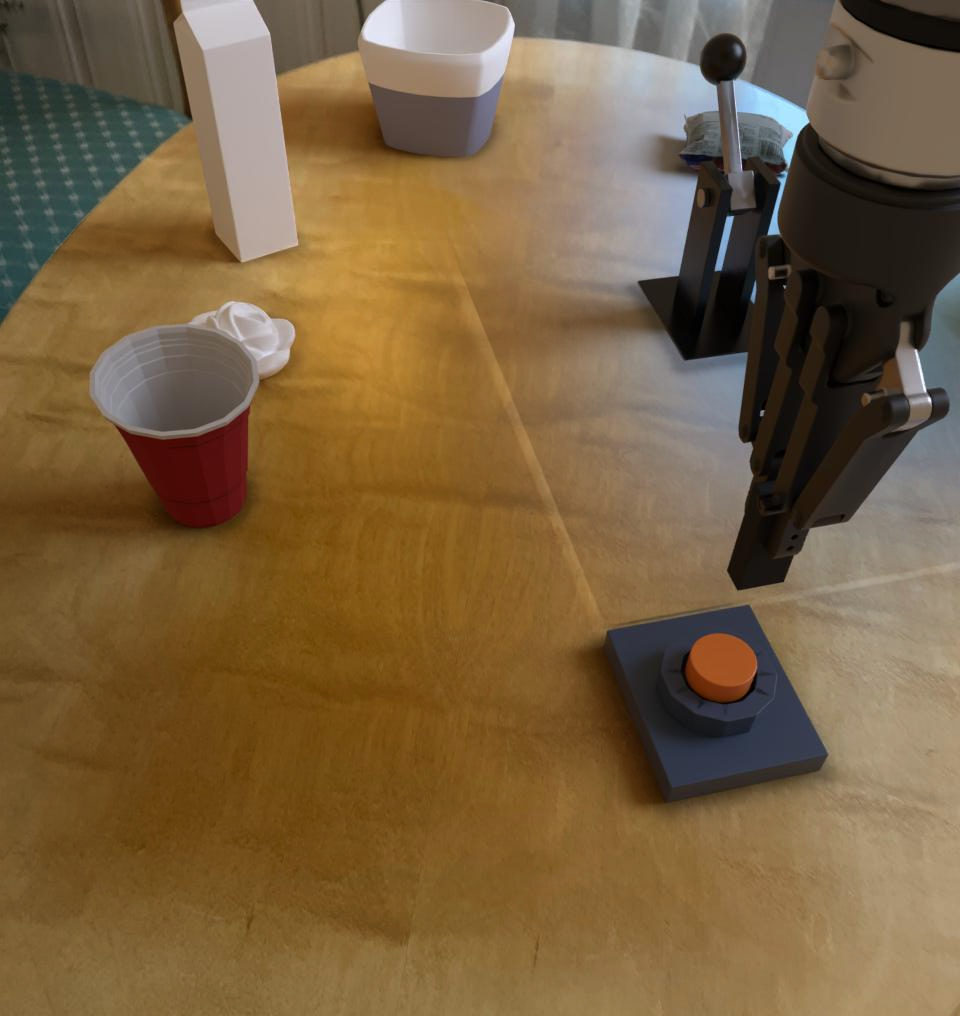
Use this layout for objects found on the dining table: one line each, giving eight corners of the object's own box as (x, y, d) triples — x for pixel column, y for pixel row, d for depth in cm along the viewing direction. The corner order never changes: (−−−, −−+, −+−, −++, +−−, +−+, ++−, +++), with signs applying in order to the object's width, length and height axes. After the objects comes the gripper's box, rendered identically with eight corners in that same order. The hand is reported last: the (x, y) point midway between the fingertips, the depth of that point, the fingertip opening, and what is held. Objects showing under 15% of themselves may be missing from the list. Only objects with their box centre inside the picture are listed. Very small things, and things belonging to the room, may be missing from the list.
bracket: (636, 291, 93) (660, 141, 82) (727, 280, 94) (762, 131, 83) (682, 371, 86) (716, 218, 75) (780, 357, 87) (826, 205, 76)
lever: (689, 46, 80) (708, 26, 76) (732, 42, 80) (752, 23, 77) (707, 220, 82) (725, 209, 79) (748, 216, 83) (768, 204, 79)
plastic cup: (192, 582, 70) (151, 451, 60) (104, 504, 74) (54, 371, 65) (312, 505, 75) (292, 372, 65) (223, 436, 79) (192, 302, 70)
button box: (602, 650, 67) (609, 612, 64) (742, 624, 69) (755, 585, 65) (664, 806, 60) (676, 772, 57) (818, 773, 61) (838, 738, 58)
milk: (299, 249, 96) (266, -10, 79) (240, 267, 94) (194, 5, 77) (271, 219, 99) (234, -36, 82) (214, 236, 97) (163, -22, 80)
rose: (147, 311, 82) (237, 261, 87) (160, 357, 85) (245, 306, 90) (230, 361, 78) (319, 306, 83) (240, 406, 82) (325, 351, 86)
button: (675, 656, 62) (680, 639, 61) (735, 645, 63) (741, 627, 62) (699, 708, 60) (704, 691, 58) (761, 696, 60) (768, 679, 59)
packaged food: (680, 138, 111) (688, 91, 107) (788, 150, 110) (801, 104, 106) (673, 178, 106) (681, 130, 102) (786, 191, 105) (799, 144, 101)
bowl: (350, 157, 107) (340, 44, 98) (392, 94, 116) (386, -14, 108) (490, 177, 105) (493, 63, 96) (521, 111, 114) (527, 2, 106)
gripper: (737, 69, 39) (649, 504, 58) (900, 250, 31) (737, 685, 50) (911, 52, 40) (770, 484, 59) (1109, 222, 33) (874, 657, 51)
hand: (755, 576), depth 55 cm, fingers closed
